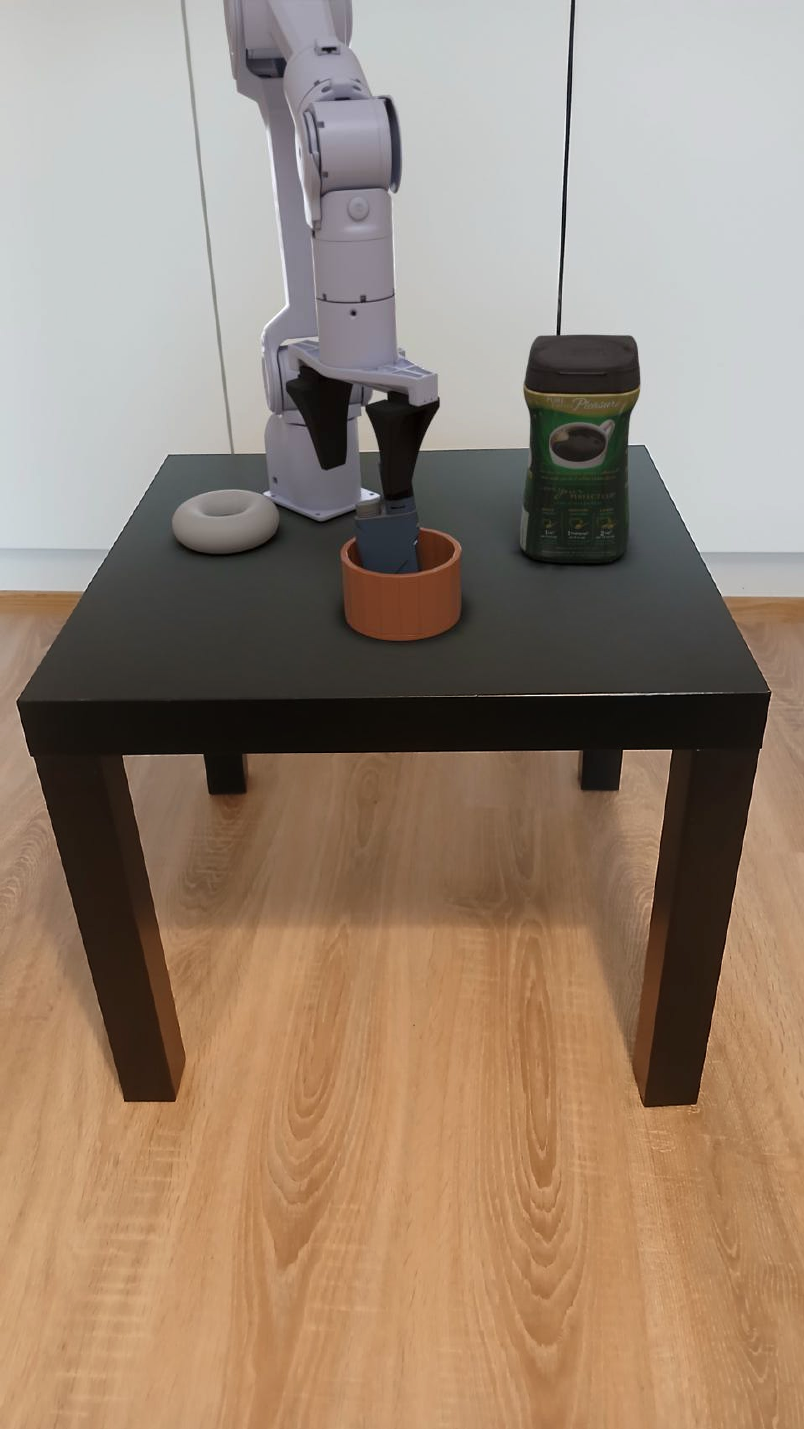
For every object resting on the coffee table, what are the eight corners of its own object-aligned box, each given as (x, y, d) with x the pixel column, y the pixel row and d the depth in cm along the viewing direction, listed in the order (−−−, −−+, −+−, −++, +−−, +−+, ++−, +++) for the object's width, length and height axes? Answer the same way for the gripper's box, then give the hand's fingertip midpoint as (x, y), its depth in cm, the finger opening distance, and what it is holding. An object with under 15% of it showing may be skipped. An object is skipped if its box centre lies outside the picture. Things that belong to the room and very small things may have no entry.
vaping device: (428, 601, 84) (404, 449, 79) (364, 608, 85) (337, 458, 80) (433, 591, 86) (410, 443, 81) (371, 598, 87) (344, 452, 82)
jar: (321, 613, 86) (316, 551, 83) (405, 576, 91) (403, 517, 88) (400, 653, 80) (397, 588, 77) (485, 611, 85) (486, 549, 82)
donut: (158, 558, 96) (262, 562, 94) (151, 522, 94) (258, 526, 92) (197, 515, 104) (294, 519, 102) (192, 482, 102) (290, 485, 101)
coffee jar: (625, 532, 98) (645, 324, 87) (628, 569, 91) (649, 348, 81) (520, 529, 99) (527, 323, 89) (515, 565, 92) (522, 347, 82)
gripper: (468, 299, 73) (467, 487, 80) (332, 273, 82) (343, 444, 89) (393, 317, 69) (399, 513, 76) (259, 288, 78) (277, 466, 85)
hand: (364, 478), depth 82 cm, fingers open, 7 cm apart
